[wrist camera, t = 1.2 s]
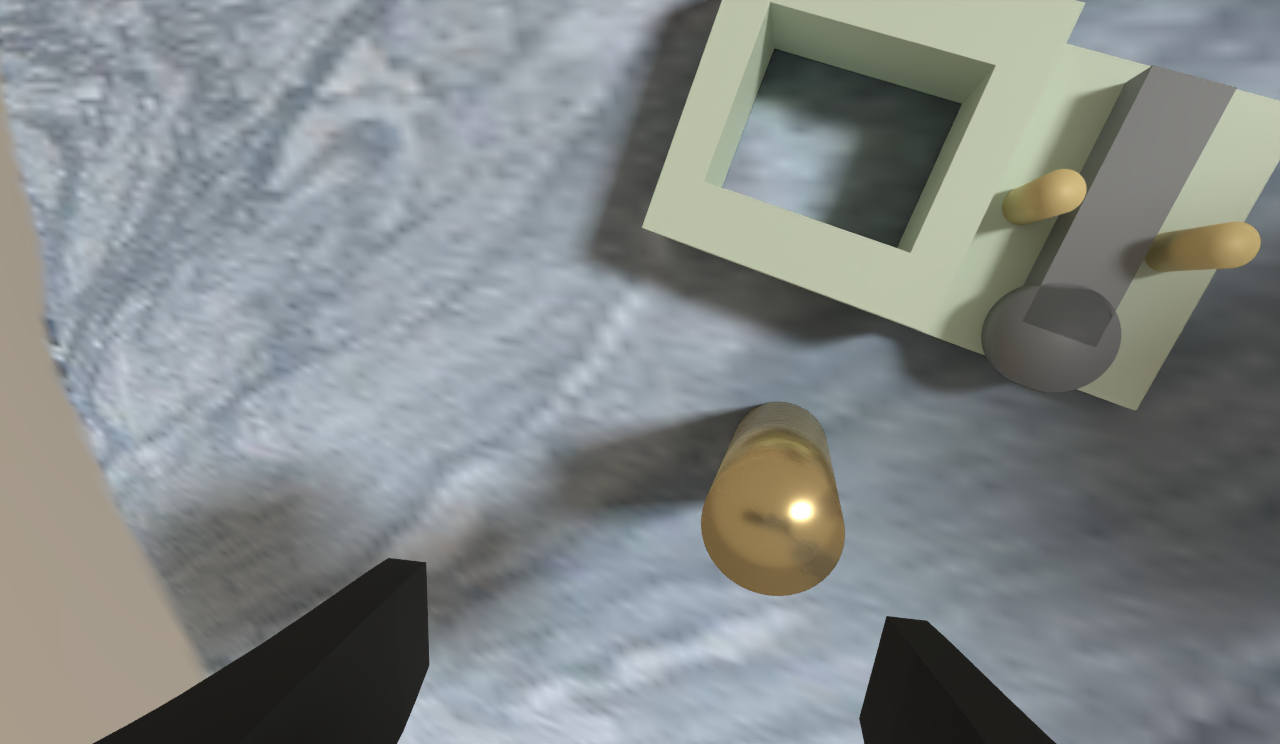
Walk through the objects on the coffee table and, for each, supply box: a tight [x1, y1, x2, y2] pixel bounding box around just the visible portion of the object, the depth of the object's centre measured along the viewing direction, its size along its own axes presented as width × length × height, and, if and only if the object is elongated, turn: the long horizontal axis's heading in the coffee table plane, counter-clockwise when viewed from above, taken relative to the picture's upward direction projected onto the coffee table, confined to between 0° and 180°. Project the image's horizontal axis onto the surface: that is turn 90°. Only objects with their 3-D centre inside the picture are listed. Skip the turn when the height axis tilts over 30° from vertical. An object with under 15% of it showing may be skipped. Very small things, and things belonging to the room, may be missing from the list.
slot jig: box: [642, 0, 1280, 411], centre depth 16 cm, size 14×8×3 cm, turn 69°
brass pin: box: [701, 402, 845, 596], centre depth 16 cm, size 3×3×7 cm
